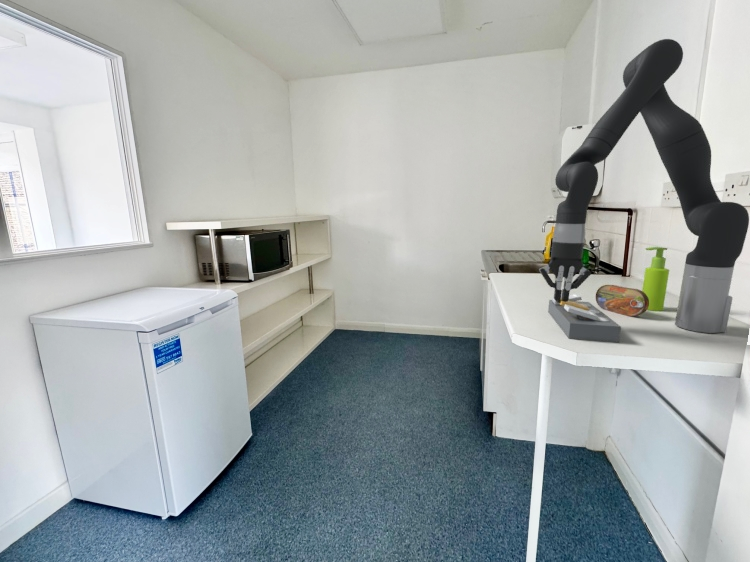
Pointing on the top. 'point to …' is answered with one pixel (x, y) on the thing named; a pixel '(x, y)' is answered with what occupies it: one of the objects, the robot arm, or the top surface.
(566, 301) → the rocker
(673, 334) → the top surface
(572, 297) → the rocker
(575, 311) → the rocker
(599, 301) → the tin
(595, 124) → the robot arm
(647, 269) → the soap dispenser
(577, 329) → the rocker switch panel
